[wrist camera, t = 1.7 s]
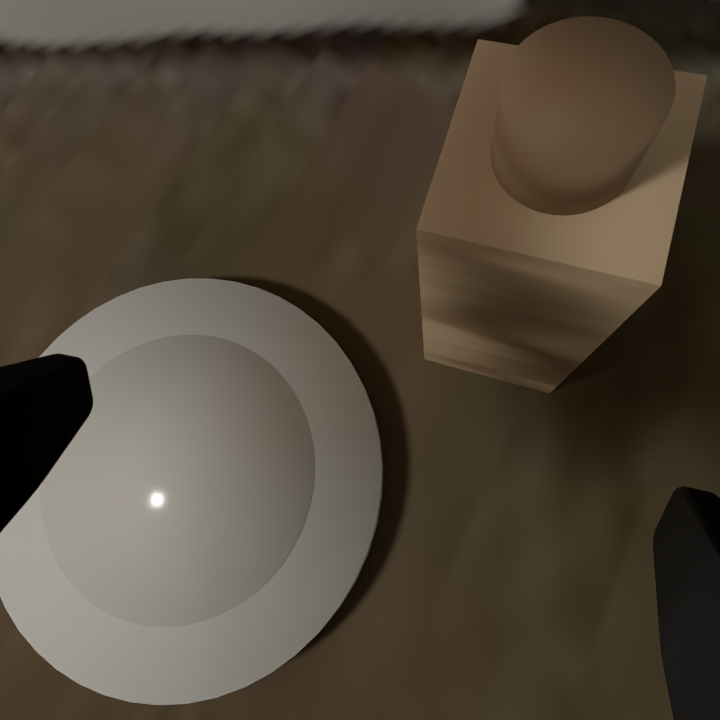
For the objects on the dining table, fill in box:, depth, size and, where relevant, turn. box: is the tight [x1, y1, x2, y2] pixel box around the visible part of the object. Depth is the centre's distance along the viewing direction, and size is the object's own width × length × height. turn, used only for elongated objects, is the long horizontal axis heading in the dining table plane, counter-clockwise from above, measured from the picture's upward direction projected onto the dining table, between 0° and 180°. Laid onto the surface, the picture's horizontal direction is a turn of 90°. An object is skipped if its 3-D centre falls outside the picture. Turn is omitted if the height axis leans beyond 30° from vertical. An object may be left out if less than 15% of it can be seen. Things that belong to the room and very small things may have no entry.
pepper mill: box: [416, 17, 707, 394], centre depth 16 cm, size 5×5×13 cm
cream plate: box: [0, 279, 384, 705], centre depth 22 cm, size 16×16×1 cm
